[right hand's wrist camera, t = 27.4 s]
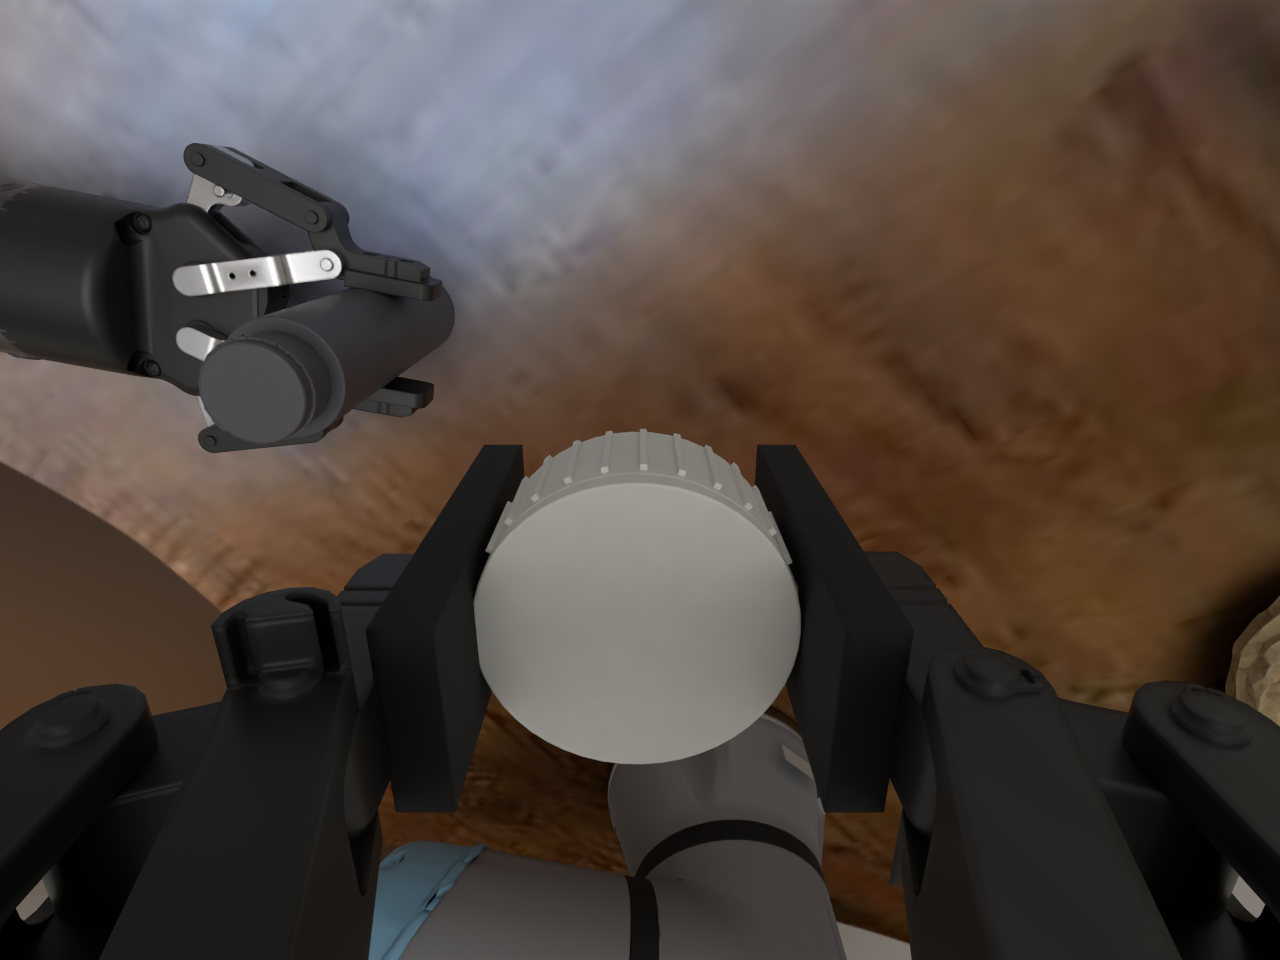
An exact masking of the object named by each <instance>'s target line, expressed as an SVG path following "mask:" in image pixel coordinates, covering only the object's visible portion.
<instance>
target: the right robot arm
mask: <svg viewBox="0 0 1280 960" xmlns="http://www.w3.org/2000/svg"><path fill="white" fill-rule="evenodd" d="M523 478H524V465H523V450H522V445H484V446H483V448H482V449H481V451H480V452H479V454H478V456H477V457H476V459H475V460H474V462H473V463H472V465H471V466H470V468H469V470H468V471H467V473H466V474H465V476H464V477H463V479H462V480H461V482H460V484H459V485H458V487H457V488H456V490H455V491H454V493H453V494H452V496H451V497H450V499H449V501H448V502H447V504H446V505H445V507H444V508H443V510H442V511H441V513H440V515H439V516H438V518H437V519H436V521H435V522H434V524H433V525H432V527H431V529H430V530H429V532H428V533H427V535H426V536H425V538H424V539H423V541H422V543H421V544H420V546H419V547H418V549H417V550H416V552H415V553H414V554H382V555H380V556H379V557H377V558H376V559H374V560H372V561H371V562H369V563H368V564H366V565H364V566H363V567H361V568H360V569H358V570H357V572H356V573H355V574H354V575H353V577H352V578H351V579H350V581H349V582H348V583H347V585H346V586H345V587H344V591H341V592H340V594H339V595H338V596H337V597H336V596H335V595H334V594H332V593H331V592H330V591H326V590H322V589H317V588H313V587H304V588H286V589H281V590H276V591H271V592H266V593H263V594H260V595H258V596H255V597H252V598H249V599H247V600H244V601H242V602H240V603H238V604H237V605H235V606H233V607H231V608H230V609H228V610H226V611H225V612H223V613H222V614H221V615H220V616H219V617H218V618H217V620H215V622H214V623H213V624H212V625H211V628H212V631H213V635H214V639H215V643H216V647H217V650H218V654H219V658H220V662H221V666H222V670H223V674H224V677H225V681H226V685H227V690H226V692H225V694H224V696H223V698H222V700H221V701H220V702H216V703H212V704H208V705H204V706H199V707H194V708H189V709H184V710H179V711H174V712H169V713H164V714H159V715H154V716H152V715H151V712H150V709H149V706H148V703H147V700H146V696H145V694H143V693H142V692H141V691H139V690H138V689H137V688H136V687H134V686H127V685H120V684H109V685H100V686H90V687H85V688H80V689H77V690H76V691H73V690H72V691H69V692H66V693H63V694H60V695H58V696H56V697H54V698H53V699H51V700H49V701H46V702H44V703H42V704H40V705H38V706H35V707H33V708H32V709H30V710H29V711H27V712H26V713H24V714H22V715H21V716H20V717H18V718H16V719H15V720H13V721H12V722H10V723H9V724H8V725H6V726H5V727H4V728H3V729H2V730H0V960H847V959H846V955H845V952H844V948H843V945H842V941H841V937H840V934H839V930H838V927H837V923H836V919H835V916H834V912H833V909H832V905H831V901H830V898H829V894H828V891H827V887H826V883H825V880H824V876H823V872H822V868H821V861H822V849H823V838H824V827H825V813H826V812H884V807H885V801H886V795H887V789H888V783H889V778H890V779H891V781H892V783H893V786H894V788H895V790H896V793H897V795H898V797H899V800H900V802H901V804H902V806H903V809H902V814H901V820H900V826H899V831H898V837H897V842H896V848H895V853H894V859H893V864H892V870H891V877H890V885H895V886H899V883H900V878H901V872H902V880H903V889H904V898H905V906H906V915H907V923H908V932H909V940H910V949H911V957H912V960H1280V726H1279V725H1277V724H1276V723H1275V722H1274V721H1272V720H1271V719H1269V718H1268V717H1266V716H1265V715H1263V714H1262V713H1260V712H1259V711H1257V710H1256V709H1254V708H1253V707H1251V706H1250V705H1248V704H1246V703H1244V702H1242V701H1240V700H1237V699H1235V698H1233V697H1231V696H1228V695H1227V694H1225V693H1224V692H1222V691H1219V690H1216V689H1213V688H1210V687H1207V688H1205V687H1204V686H1202V685H1198V684H1193V683H1183V682H1174V681H1158V682H1152V683H1146V684H1145V685H1143V686H1142V687H1141V688H1139V689H1138V690H1137V691H1135V694H1134V698H1133V701H1132V704H1131V707H1130V710H1129V713H1127V712H1122V711H1117V710H1112V709H1107V708H1102V707H1097V706H1092V705H1087V704H1082V703H1077V702H1072V701H1069V700H1065V699H1061V698H1058V697H1057V695H1056V693H1055V691H1054V689H1053V687H1052V686H1051V684H1050V683H1049V682H1048V680H1047V679H1046V678H1045V677H1044V675H1043V674H1042V673H1041V672H1039V671H1038V670H1037V669H1035V668H1034V667H1032V666H1031V665H1029V664H1028V663H1026V662H1025V661H1024V660H1021V659H1019V658H1017V657H1014V656H1012V655H1009V654H1007V653H1005V652H1002V651H999V650H995V649H990V648H986V647H983V645H982V644H981V643H980V642H979V640H978V639H977V638H976V636H975V635H974V634H973V632H972V631H971V630H970V629H969V627H968V626H967V625H966V623H965V622H964V621H963V620H962V618H961V617H960V616H959V614H958V613H957V612H956V611H955V609H954V608H953V607H952V605H951V604H947V599H946V598H945V596H944V595H943V594H942V592H941V591H940V590H939V589H938V588H936V585H935V583H934V582H933V581H932V580H931V578H930V577H929V576H928V574H927V573H926V572H925V571H924V569H923V568H922V567H921V566H919V565H918V564H916V563H914V562H913V561H911V560H910V559H908V558H906V557H905V556H903V555H902V554H900V553H898V552H864V551H863V550H862V548H861V546H860V545H859V543H858V542H857V540H856V539H855V537H854V536H853V534H852V532H851V531H850V529H849V528H848V526H847V525H846V523H845V522H844V520H843V518H842V517H841V515H840V514H839V512H838V511H837V509H836V508H835V506H834V504H833V503H832V501H831V500H830V498H829V497H828V495H827V494H826V492H825V490H824V489H823V487H822V486H821V484H820V483H819V481H818V480H817V478H816V476H815V475H814V473H813V472H812V470H811V469H810V467H809V466H808V464H807V462H806V461H805V459H804V458H803V456H802V455H801V453H800V452H799V450H798V448H797V447H796V445H757V458H756V474H755V485H756V486H757V488H758V489H759V491H760V493H761V496H762V498H763V501H764V503H765V505H766V508H767V510H768V512H770V511H771V513H772V515H773V517H774V520H775V522H776V525H777V527H778V529H779V532H780V534H781V536H782V539H783V541H784V543H785V546H786V548H787V550H788V553H789V555H790V557H791V560H792V563H791V564H789V567H790V570H791V572H792V574H793V577H794V579H795V582H796V584H797V587H798V598H799V603H800V609H801V636H800V643H799V649H798V653H797V656H796V659H795V663H794V666H793V669H792V671H791V673H790V675H789V677H788V679H787V682H786V688H787V691H788V694H789V697H790V701H791V704H792V707H793V711H794V714H795V717H796V721H797V724H798V725H797V724H796V723H795V722H793V721H792V720H791V719H790V718H788V717H787V716H785V715H784V714H782V713H780V712H778V711H777V710H775V709H773V708H770V707H769V708H768V709H767V710H766V711H765V712H764V713H763V714H762V715H761V716H760V717H759V718H758V719H757V720H756V721H755V722H754V723H752V724H751V725H750V726H749V727H748V728H746V729H745V730H743V731H742V732H741V733H739V734H738V735H736V736H735V737H733V738H732V739H730V740H728V741H726V742H724V743H722V744H721V745H719V746H717V747H715V748H712V749H710V750H707V751H705V752H702V753H700V754H697V755H693V756H690V757H687V758H683V759H679V760H674V761H668V762H663V763H652V764H620V763H611V767H610V771H609V781H608V806H609V812H610V818H611V822H612V825H613V828H614V831H615V833H616V835H617V837H618V840H619V842H620V845H621V848H622V852H623V855H624V858H625V861H626V864H627V868H628V871H629V874H630V876H627V875H622V874H617V873H611V872H606V871H600V870H595V869H590V868H584V867H579V866H574V865H568V864H563V863H558V862H552V861H547V860H542V859H537V858H531V857H526V856H521V855H515V854H510V853H505V852H499V851H494V850H489V849H488V845H485V844H480V843H479V844H476V845H475V846H473V847H470V846H462V845H454V844H447V843H439V842H432V841H413V842H409V843H406V844H404V845H402V846H400V847H398V848H397V849H395V850H394V851H393V852H391V853H390V854H389V855H388V856H387V857H386V858H385V859H384V860H383V861H382V862H381V863H380V856H381V848H382V833H381V826H380V820H379V814H378V807H379V804H380V802H381V800H382V798H383V795H384V793H385V791H386V788H387V786H388V784H389V781H390V780H391V786H392V792H393V798H394V804H395V810H396V812H456V808H457V805H458V802H459V798H460V795H461V792H462V789H463V785H464V782H465V779H466V775H467V772H468V769H469V765H470V762H471V759H472V756H473V752H474V749H475V746H476V742H477V739H478V736H479V732H480V729H481V726H482V722H483V719H484V716H485V713H486V709H487V706H488V703H489V699H490V696H491V693H492V690H491V688H490V687H489V685H488V683H487V681H486V679H485V678H484V676H483V673H482V671H481V668H480V663H479V654H478V644H477V634H476V624H475V614H474V596H475V592H476V588H477V584H478V582H479V579H480V577H481V574H482V572H483V570H484V567H485V565H486V563H487V560H488V558H489V555H490V553H488V552H486V551H485V550H486V548H487V546H488V544H489V541H490V539H491V537H492V535H493V532H494V530H495V528H496V526H497V523H498V521H499V519H500V517H501V514H502V512H503V510H504V508H505V505H506V504H507V502H508V501H509V502H511V503H512V502H513V500H514V498H515V495H516V493H517V491H518V488H519V486H520V484H521V481H522V479H523ZM1239 875H1240V876H1241V878H1242V879H1243V880H1244V881H1245V882H1246V883H1247V884H1248V885H1249V887H1250V888H1251V889H1252V890H1253V891H1254V892H1255V893H1256V894H1257V895H1258V897H1259V898H1260V899H1261V900H1262V901H1263V902H1264V903H1265V907H1264V909H1263V911H1262V913H1261V915H1260V916H1259V917H1258V918H1256V917H1254V916H1253V915H1252V914H1251V913H1250V912H1249V911H1247V910H1246V909H1245V908H1244V907H1243V906H1242V904H1241V903H1240V902H1239V901H1238V900H1237V899H1236V898H1235V896H1234V895H1233V894H1232V891H1233V889H1234V886H1235V884H1236V882H1237V879H1238V877H1239ZM41 879H42V881H43V883H44V886H45V888H46V890H47V892H48V895H49V896H48V898H47V899H46V900H45V901H44V902H43V904H42V905H41V906H40V907H39V908H38V909H37V910H36V911H35V912H34V913H33V914H32V915H30V916H29V917H28V918H27V919H26V920H25V921H23V920H22V919H21V918H20V917H19V914H18V912H17V910H16V907H17V906H18V905H19V904H20V903H21V901H22V900H23V899H24V898H25V897H26V896H27V895H28V894H29V892H30V891H31V890H32V889H33V888H34V887H35V886H36V885H37V883H38V882H39V881H40V880H41Z"/></svg>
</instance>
